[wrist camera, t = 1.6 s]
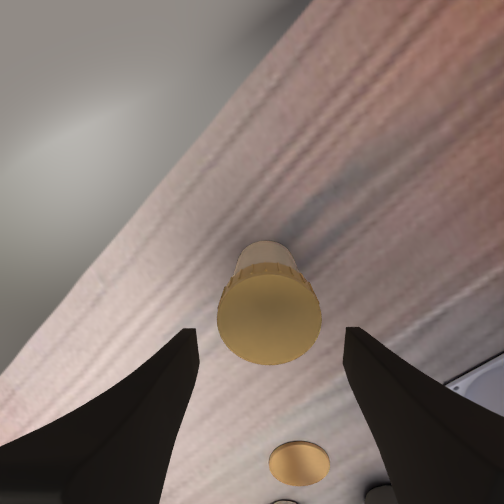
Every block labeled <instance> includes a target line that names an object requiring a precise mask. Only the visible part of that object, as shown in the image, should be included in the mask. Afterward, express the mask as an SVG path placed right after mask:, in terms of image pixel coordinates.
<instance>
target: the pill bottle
mask: <svg viewBox="0 0 504 504" xmlns="http://www.w3.org/2000/svg"><path fill="white" fill-rule="evenodd" d="M274 504H297V503H294V502H291V501H278V502H276V503H274Z"/></svg>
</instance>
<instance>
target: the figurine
mask: <svg viewBox="0 0 504 504" xmlns="http://www.w3.org/2000/svg"><path fill="white" fill-rule="evenodd" d="M365 504H398V502H397V499H396V496H395V493H394V490H393V487H392V485H390V486H389V485H387V486H385V485H383V486H381V487H375V488H374V489H371V490H370V491H369V492H368V494H367V496H366V498H365Z"/></svg>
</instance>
